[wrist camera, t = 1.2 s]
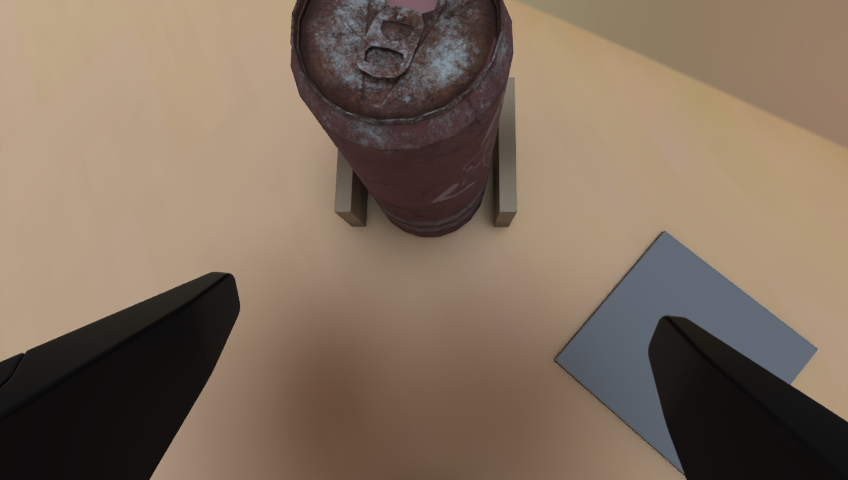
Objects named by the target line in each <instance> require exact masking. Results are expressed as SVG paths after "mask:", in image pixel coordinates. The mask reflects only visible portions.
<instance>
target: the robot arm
mask: <svg viewBox="0 0 848 480" xmlns="http://www.w3.org/2000/svg"><path fill="white" fill-rule="evenodd" d="M239 311H240V301H239V296H238V291H237V286H236V281H235V278H234V276H233V275H232V274H230V273H223V272H211V273H208V274H206V275H204V276H201V277H199V278H197V279H194V280H192V281H189V282H187V283H185V284H182V285H180V286H178V287H175V288H173V289H171V290H168V291H166V292H164V293H161V294H159V295H157V296H154V297H152V298H150V299H147V300H145V301H143V302H140V303H138V304H135V305H133V306H131V307H128V308H126V309H124V310H121V311H119V312H117V313H114V314H112V315H110V316H107V317H105V318H103V319H100V320H98V321H96V322H93V323H91V324H88V325H86V326H84V327H81V328H79V329H77V330H74V331H72V332H70V333H67V334H65V335H63V336H60V337H58V338H56V339H53V340H51V341H49V342H46V343H44V344H42V345H39V346H37V347H34V348H32V349H30V350H28V351H26V353H25V354H24V353H20V354H18V355H15V356H13V357H11V358H8V359H6V360H4V361H1V362H0V480H149V479H150V478H151V476H152V474H153V473H154V471H155V469H156V467H157V466H158V464H159V462H160V461H161V459H162V457H163V456H164V454H165V452H166V451H167V449H168V447H169V445H170V444H171V442H172V440H173V439H174V437H175V435H176V434H177V432H178V430H179V429H180V427H181V425H182V424H183V422H184V420H185V418H186V417H187V415H188V413H189V412H190V410H191V408H192V407H193V405H194V403H195V402H196V400H197V398H198V396H199V395H200V393H201V391H202V390H203V388H204V386H205V385H206V383H207V381H208V379H209V377H210V376H211V374H212V372H213V370H214V368H215V366H216V363H217V361H218V359H219V357H220V355H221V352H222V350H223V348H224V346H225V344H226V341H227V339H228V337H229V335H230V333H231V330H232V328H233V326H234V324H235V322H236V319H237V317H238V315H239ZM648 357H649V361H650V365H651V369H652V373H653V377H654V381H655V385H656V388H657V392H658V396H659V400H660V404H661V408H662V412H663V415H664V419H665V422H666V426H667V429H668V431H669V434H670V437H671V440H672V442H673V445H674V448H675V450H676V453H677V456H678V458H679V461H680V463H681V466H682V469H683V471H684V474H685V477H686V479H687V480H848V422H847V421H846V420H844V419H842V418H841V417H839V416H838V415H836V414H835V413H833V412H832V411H830V410H828V409H827V408H825V407H824V406H822V405H821V404H819V403H818V402H816V401H814V400H813V399H811V398H810V397H808V396H807V395H805V394H804V393H802V392H800V391H799V390H797V389H796V388H794V387H793V386H791V385H790V384H788V383H787V382H785V381H783V380H782V379H780V378H779V377H777V376H776V375H774V374H773V373H771V372H769V371H768V370H766V369H765V368H763V367H762V366H760V365H759V364H757V363H756V362H754V361H752V360H751V359H749V358H748V357H746V356H745V355H743V354H742V353H740V352H738V351H737V350H735V349H734V348H732V347H731V346H729V345H728V344H726V343H725V342H723V341H721V340H720V339H718V338H717V337H715V336H714V335H712V334H711V333H709V332H707V331H706V330H704V329H703V328H701V327H700V326H698V325H697V324H695V323H694V322H692V321H690V320H689V319H687V318H685V317H681V316H671V315H664V316H662V317H661V318H660V319H659V321H658V323H657V326H656V328H655V331H654V333H653V336H652V338H651V341H650V343H649V347H648Z"/></svg>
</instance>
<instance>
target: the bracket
mask: <svg viewBox="0 0 848 480" xmlns="http://www.w3.org/2000/svg"><path fill="white" fill-rule="evenodd" d="M493 197H494V227H509V225H510V223H511V221H512V219H513V218H514V216H515V214H516V212H517V192H516V138H515V84H514V78H508V81H507V86H506V91H505V95H504V100H503V105H502V110H501V115H500V119H499V124H498V129H497V134H496V139H495V143H494V148H493ZM335 212H336V213H337V214H338V215H339V216H340V217H342V218H343V219H344V220H345V221H346V222H348V223H349V224H350V225H351V226H366V213H367V188H366V187H365V185H364V184H363V183H362V181H361V180H360V178H359V177H358V176H357V174H356V173H355V172H354V170H353V169H352V167H351V166H350V165H349V163H348V162H347V160H346V159H345V158H344V156H343V155H342V154H341V152H340V151H339V149H338V160H337V177H336V195H335Z"/></svg>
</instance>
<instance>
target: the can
mask: <svg viewBox="0 0 848 480" xmlns="http://www.w3.org/2000/svg"><path fill="white" fill-rule="evenodd" d="M291 46H292V49H291V68H292V72H293V75H294V78H295V82H296V85H297V88H298V92H299V95H300V97H301V98H302V100H303V101H304V102H305V104H306V105H307V106H308V108H309V109H310V111H311V112H312V113H313V115H314V116H315V118H316V119H317V120H318V122H319V123H320V124H321V126H322V127H323V129H324V130H325V131H326V133H327V134H328V136H329V137H330V138H331V140H332V141H333V142H334V144H335V145H336V147H337V148H338V149H339V151H340V152H341V154H342V155H343V156H344V158H345V159H346V160H347V162H348V163H349V165H350V166H351V167H352V169H353V170H354V172H355V173H356V174H357V176H358V177H359V178H360V180H361V181H362V183H363V184H364V185H365V187H366V188H367V190H368V191H369V192H370V194H371V195H372V196H373V198H374V199H375V201H376V202H377V203H378V205H379V206H380V208H381V209H382V210H383V212H384V213H385V214H386V216H387V217H388V218H389V220H390V221H391V222H392V223H393V224H395V225H396V226H398V227H399V228H401V229H402V230H404V231H405V232H408V233H412V234H415V235H418V236H441V235H444V234H447V233H450V232H453V231H456V230H457V229H458V228H460V227H461V226H463V225H464V224H465V223H467V222H468V221H469V220H470V219H471V218H472V216H473V215H474V214H475V212H476V211H477V209H478V208H479V206H480V204H481V201H482V197H483V194H484V191H485V187H486V182H487V177H488V172H489V167H490V163H491V158H492V153H493V148H494V143H495V139H496V134H497V129H498V124H499V119H500V115H501V110H502V105H503V100H504V95H505V91H506V86H507V81H508V76H509V71H510V67H511V62H512V57H513V37H512V20H511V18H510V16H509V13H508V11H507V9H506V6H505V4H504V2H503V0H297V2H296V5H295V7H294V10H293V12H292V24H291Z"/></svg>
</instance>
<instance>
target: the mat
mask: <svg viewBox="0 0 848 480" xmlns="http://www.w3.org/2000/svg"><path fill="white" fill-rule="evenodd" d="M664 315H671V316H681V317H685V318H687V319H689V320H690V321H692V322H694V323H695V324H697V325H698V326H700V327H701V328H703V329H704V330H706V331H707V332H709V333H711V334H712V335H714V336H715V337H717V338H718V339H720V340H721V341H723V342H725V343H726V344H728V345H729V346H731V347H732V348H734V349H735V350H737V351H738V352H740V353H742V354H743V355H745V356H746V357H748V358H749V359H751V360H752V361H754V362H756V363H757V364H759V365H760V366H762V367H763V368H765V369H766V370H768V371H769V372H771V373H773V374H774V375H776V376H777V377H779V378H780V379H782V380H783V381H785V382H787V383H788V384H791V383H792V382H793V380H794V379H795V378H796V377H797V375H798V374H799V373H800V371H801V370H802V369H803V368H804V366H805V365H806V364H807V363H808V361H809V360H810V359H811V357H812V356H813V355H814V354H815V352H816V351H817V350H818V349H817V348H816V347H815V346H814V345H812V344H811V343H810V342H808V341H807V340H806V339H804V338H803V337H802V336H801V335H799V334H798V333H797V332H795V331H794V330H793V329H791V328H790V327H789V326H788V325H786V324H785V323H784V322H782V321H781V320H780V319H778V318H777V317H776V316H775V315H773V314H772V313H771V312H769V311H768V310H767V309H766V308H764V307H763V306H762V305H760V304H759V303H758V302H756V301H755V300H754V299H753V298H751V297H750V296H749V295H747V294H746V293H745V292H743V291H742V290H741V289H740V288H738V287H737V286H736V285H734V284H733V283H732V282H731V281H729V280H728V279H727V278H725V277H724V276H723V275H721V274H720V273H719V272H718V271H716V270H715V269H714V268H712V267H711V266H710V265H708V264H707V263H706V262H705V261H703V260H702V259H701V258H699V257H698V256H697V255H695V254H694V253H693V252H692V251H690V250H689V249H688V248H686V247H685V246H684V245H683V244H681V243H680V242H679V241H677V240H676V239H675V238H673V237H672V236H671V235H670V234H668V233H667V232H666V231H663V232H662V233H661V234H660V235H659V236H658V238H657V239H656V240H655V241H654V242H653V243H652V245H651V246H650V247H649V248H648V249H647V251H646V252H645V253H644V254H643V255H642V256H641V258H640V259H639V260H638V261H637V262H636V264H635V265H634V266H633V267H632V268H631V269H630V271H629V272H628V273H627V274H626V275H625V277H624V278H623V279H622V280H621V281H620V282H619V284H618V285H617V286H616V287H615V288H614V289H613V291H612V292H611V293H610V294H609V295H608V297H607V298H606V299H605V300H604V301H603V302H602V304H601V305H600V306H599V307H598V308H597V310H596V311H595V312H594V313H593V314H592V315H591V317H590V318H589V319H588V320H587V321H586V322H585V324H584V325H583V326H582V327H581V328H580V330H579V331H578V332H577V333H576V334H575V335H574V337H573V338H572V339H571V340H570V341H569V343H568V344H567V345H566V346H565V347H564V348H563V350H562V351H561V352H560V353H559V354H558V356H557V357H556V358H555V359H554V360H555V361H556V362H557V363H558V364H559V365H561V366H562V367H563V368H564V369H565V370H566V371H567V372H569V373H570V374H571V375H572V376H573V377H574V378H575V379H576V380H578V381H579V382H580V383H581V384H582V385H583V386H584V387H586V388H587V389H588V390H589V391H590V392H591V393H592V394H593V395H595V396H596V397H597V398H598V399H599V400H600V401H601V402H603V403H604V404H605V405H606V406H607V407H608V408H609V409H610V410H612V411H613V412H614V413H615V414H616V415H617V416H618V417H620V418H621V419H622V420H623V421H624V422H625V423H626V424H627V425H629V426H630V427H631V428H632V429H633V430H634V431H635V432H637V433H638V434H639V435H640V436H641V437H642V438H643V439H644V440H646V441H647V442H648V443H649V444H650V445H651V446H652V447H654V448H655V449H656V450H657V451H658V452H659V453H660V454H661V455H663V456H664V457H665V458H666V459H667V460H668V461H669V462H671V463H672V464H673V465H674V466H675V467H676V468H677V469H678V470H680V471H681V472H682V473H683V474H684V471H683V469H682V466H681V463H680V461H679V458H678V456H677V453H676V450H675V448H674V445H673V442H672V440H671V437H670V434H669V431H668V429H667V426H666V422H665V419H664V415H663V412H662V408H661V404H660V400H659V396H658V392H657V388H656V385H655V381H654V377H653V373H652V369H651V365H650V361H649V357H648V347H649V343H650V341H651V338H652V336H653V333H654V331H655V328H656V326H657V323H658V321H659V319H660V318H661V317H662V316H664ZM684 475H685V474H684Z"/></svg>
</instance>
